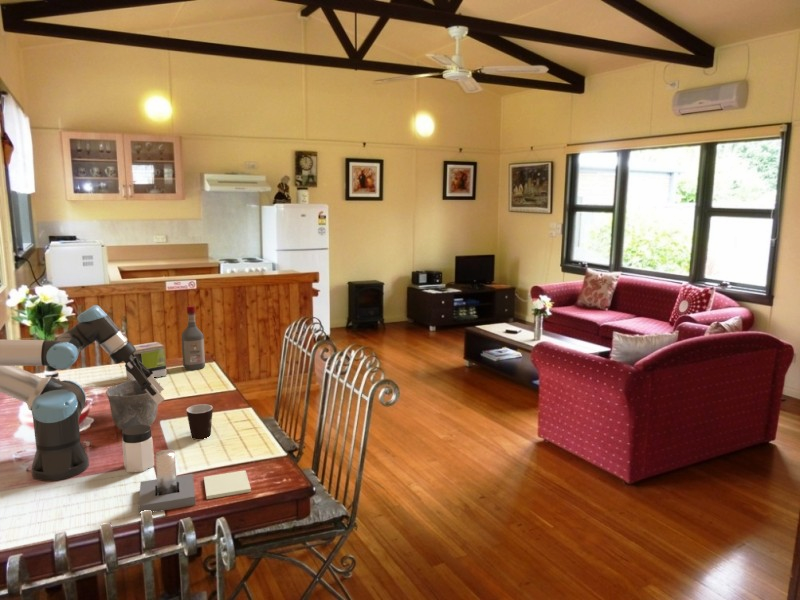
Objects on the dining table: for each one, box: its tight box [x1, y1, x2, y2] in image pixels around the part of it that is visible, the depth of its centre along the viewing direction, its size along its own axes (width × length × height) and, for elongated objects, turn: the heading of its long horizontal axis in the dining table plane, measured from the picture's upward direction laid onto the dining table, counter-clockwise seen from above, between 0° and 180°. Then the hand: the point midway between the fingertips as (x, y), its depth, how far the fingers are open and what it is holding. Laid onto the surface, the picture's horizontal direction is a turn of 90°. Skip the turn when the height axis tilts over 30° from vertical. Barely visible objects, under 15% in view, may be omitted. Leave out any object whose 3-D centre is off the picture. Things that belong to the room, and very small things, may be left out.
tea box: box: [124, 341, 168, 381], centre depth 269 cm, size 15×10×15 cm, turn 130°
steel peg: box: [154, 449, 178, 496], centre depth 163 cm, size 5×5×13 cm
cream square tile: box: [203, 469, 252, 500], centre depth 171 cm, size 12×12×1 cm
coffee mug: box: [186, 403, 214, 440], centre depth 206 cm, size 12×9×10 cm
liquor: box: [180, 305, 206, 371], centre depth 283 cm, size 9×9×30 cm
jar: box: [121, 425, 155, 473], centre depth 182 cm, size 9×8×12 cm
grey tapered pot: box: [105, 380, 161, 431], centre depth 212 cm, size 18×18×15 cm
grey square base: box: [138, 473, 196, 514], centre depth 164 cm, size 14×14×2 cm
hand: (161, 396), depth 199 cm, fingers open, 13 cm apart
